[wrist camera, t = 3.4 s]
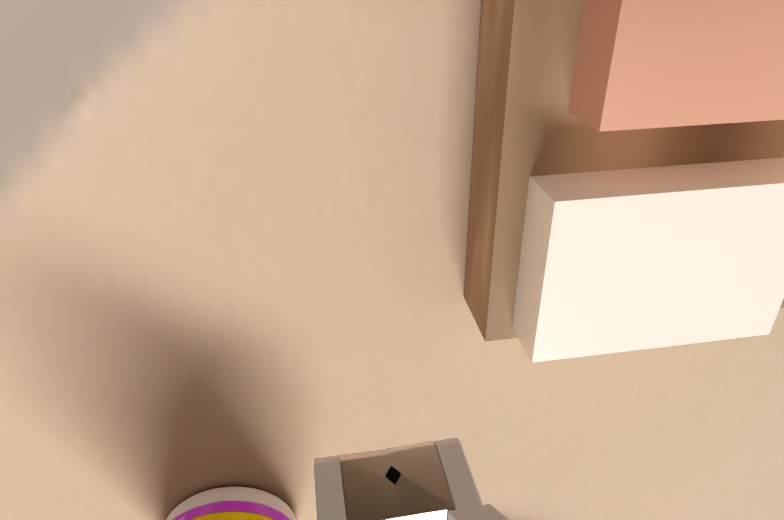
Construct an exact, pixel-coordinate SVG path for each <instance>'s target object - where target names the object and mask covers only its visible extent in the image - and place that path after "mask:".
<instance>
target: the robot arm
mask: <svg viewBox="0 0 784 520" xmlns="http://www.w3.org/2000/svg"><path fill="white" fill-rule="evenodd" d="M314 477H315V492H316V508H317V520H509V519H508V518H507V517H505V516H504V515H503V514H502V513H500V512H499V511H498V510H497V509H496V508H494V507H493V506H492V505H491V504H486V505H483V503H482V501H481V498H480V495H479V492H478V490H477V487H476V484H475V481H474V479H473V476H472V473H471V470H470V467H469V465H468V462H467V459H466V456H465V454H464V451H463V448H462V445H461V442H460V441H459V440H458V439H457V438H453V439H446V440H439V441H434V442H432V441H430V442H424V443H417V444H411V445H405V446H399V447H393V448H387V449H385V450H377V451H369V452H361V453H352V454H344V455H340V459H339V455H338V456H330V457H323V458H315V459H314Z"/></svg>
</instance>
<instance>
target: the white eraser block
mask: <svg viewBox="0 0 784 520" xmlns="http://www.w3.org/2000/svg"><path fill="white" fill-rule="evenodd" d="M783 299H784V158H783V157H782V158H769V159H755V160H742V161H729V162H715V163H702V164H689V165H675V166H662V167H649V168H635V169H622V170H609V171H596V172H582V173H569V174H556V175H542V176H530V177H529V185H528V194H527V203H526V212H525V220H524V229H523V238H522V246H521V255H520V264H519V272H518V281H517V290H516V298H515V307H514V316H513V324H512V328H513V330H514V332H515V334H516V335H517V337H518V339H519V341H520V342H521V344H522V346H523V348H524V349H525V351H526V353H527V355H528V357H529V358H530V360H531V362H532V363H533V362H541V361H549V360H558V359H566V358H574V357H583V356H591V355H600V354H608V353H616V352H625V351H633V350H642V349H650V348H658V347H667V346H675V345H683V344H692V343H700V342H709V341H717V340H725V339H734V338H742V337H750V336H759V335H767V334H769V333H770V331H771V328H772V326H773V324H774V321H775V319H776V316H777V314H778V311H779V309H780V306H781V304H782V301H783Z"/></svg>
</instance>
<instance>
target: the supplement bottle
mask: <svg viewBox="0 0 784 520" xmlns="http://www.w3.org/2000/svg"><path fill="white" fill-rule="evenodd" d="M166 520H296V518H295V515H294V513H293V512H292V510H291V509H290V508H289V507H288V505H287V504H286V503H285V502H284V501H282V500H281V499H279V498H278V497H276V496H275V495H273V494H270V493H268V492H265V491H262V490H259V489H255V488H248V487H222V488H215V489H211V490H207V491H204V492H201V493H198V494H196V495H194V496H192V497H190V498H188V499H186V500H185V501H183V502H182V503H180V504H179V505H178V506H177V507H176V508H175V509H174V510H173V511H172V512H171V513H170V514H169V516H168V517H167V519H166Z"/></svg>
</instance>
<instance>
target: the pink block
mask: <svg viewBox="0 0 784 520" xmlns="http://www.w3.org/2000/svg"><path fill="white" fill-rule="evenodd" d="M568 112H569V113H570V114H572V115H574V116H575V117H577V118H578V119H580V120H582V121H583V122H585V123H586V124H588V125H590V126H591V127H593V128H594V129H596V130H597V131H599V132H602V131H617V130H633V129H648V128H663V127H678V126H694V125H709V124H724V123H739V122H755V121H770V120H784V0H584V5H583V12H582V19H581V26H580V33H579V40H578V47H577V54H576V61H575V68H574V75H573V82H572V89H571V96H570V103H569V110H568Z"/></svg>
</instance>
